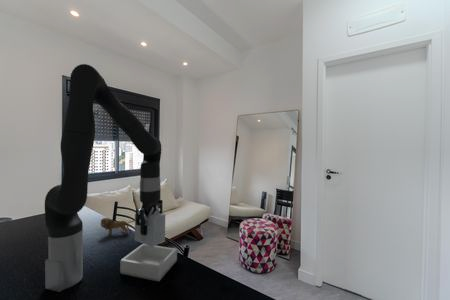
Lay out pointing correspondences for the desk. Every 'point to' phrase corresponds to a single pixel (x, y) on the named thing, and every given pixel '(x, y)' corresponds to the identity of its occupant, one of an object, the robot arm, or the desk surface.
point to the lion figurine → (114, 225)
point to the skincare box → (152, 230)
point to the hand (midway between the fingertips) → (150, 230)
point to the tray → (148, 262)
